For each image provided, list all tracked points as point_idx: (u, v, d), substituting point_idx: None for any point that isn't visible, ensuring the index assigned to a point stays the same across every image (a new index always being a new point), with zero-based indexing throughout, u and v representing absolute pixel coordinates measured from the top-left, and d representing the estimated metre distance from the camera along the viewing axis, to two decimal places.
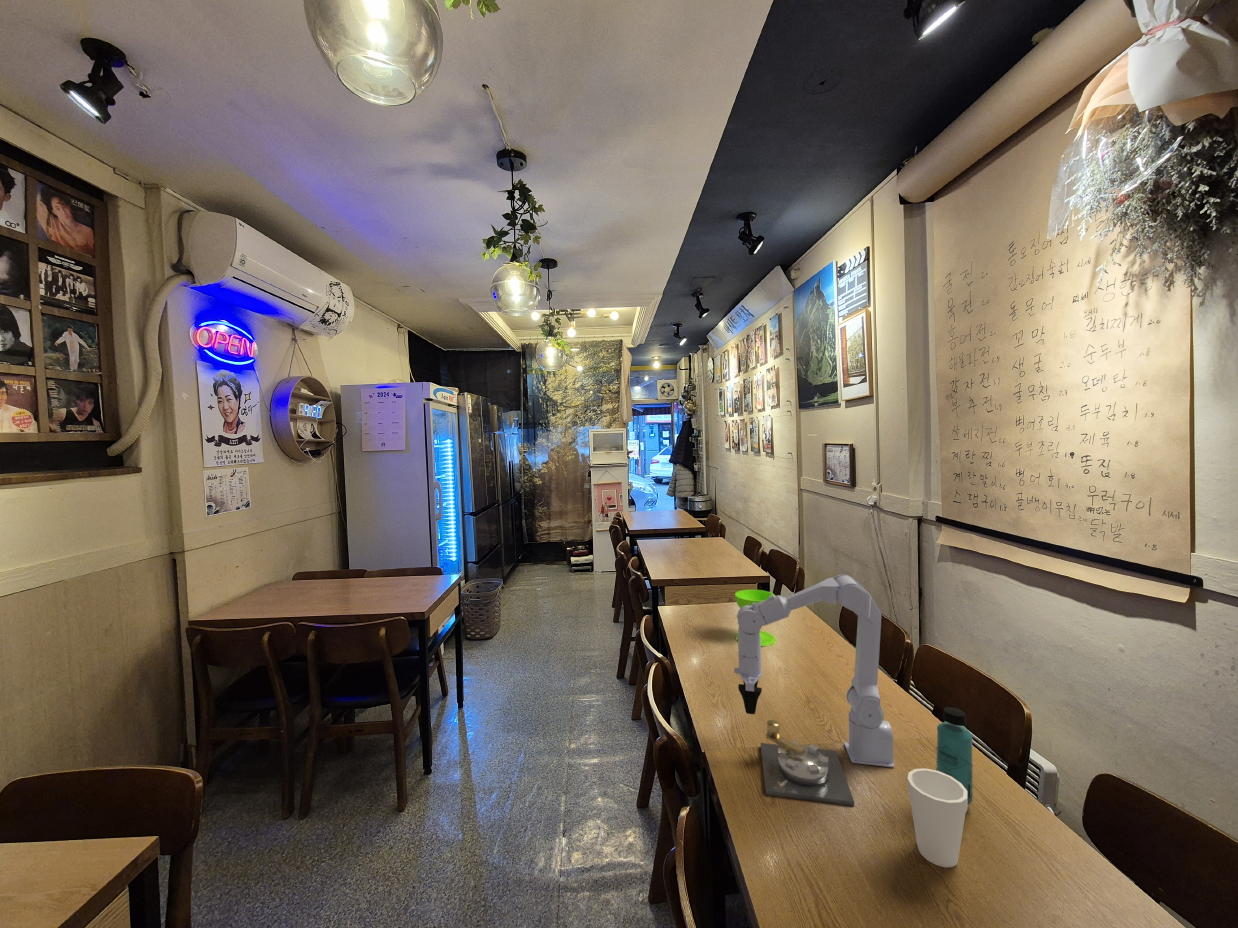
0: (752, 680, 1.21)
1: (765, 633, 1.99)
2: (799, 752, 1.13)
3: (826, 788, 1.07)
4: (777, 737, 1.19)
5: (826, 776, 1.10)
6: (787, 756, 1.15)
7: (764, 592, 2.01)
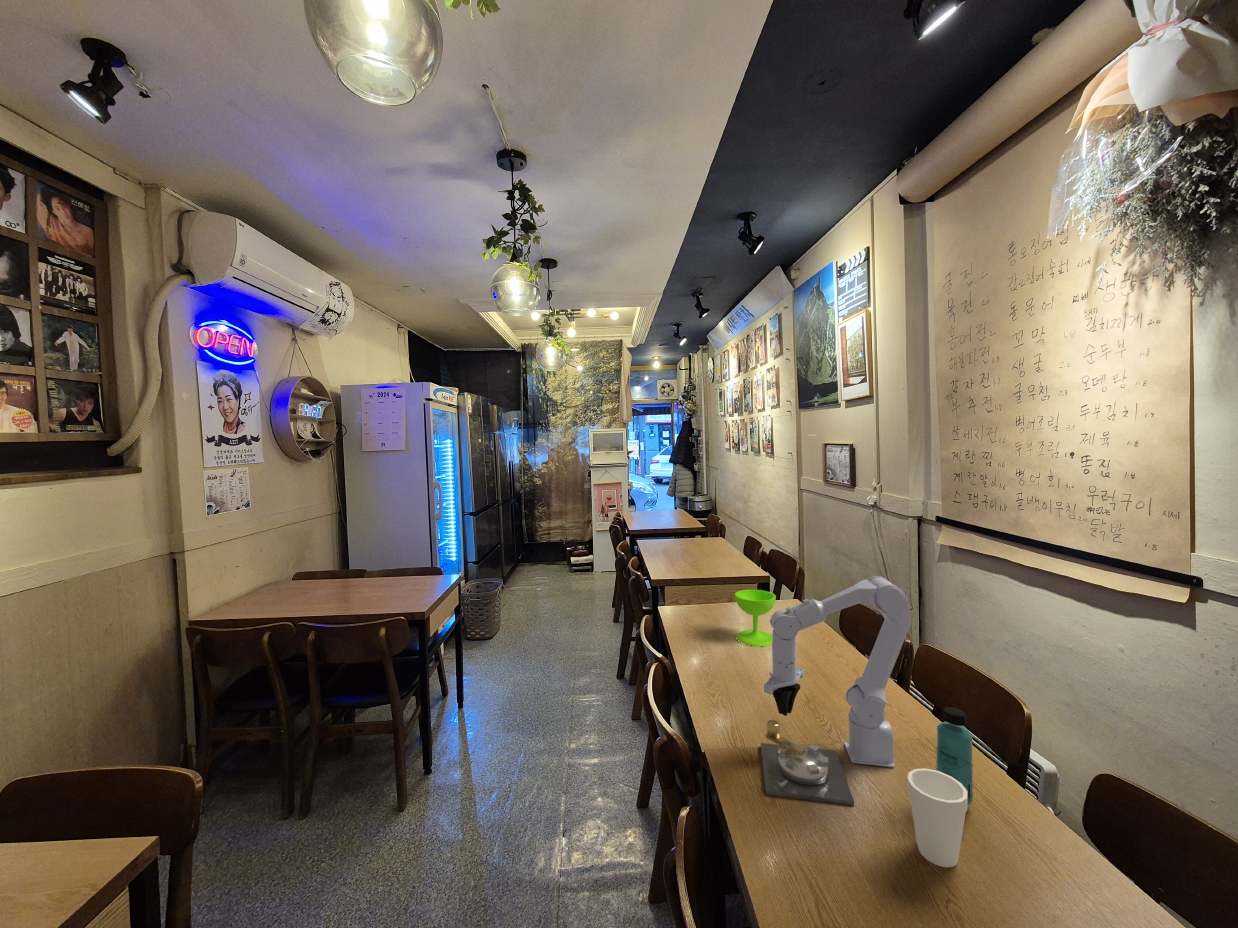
0: (775, 684, 1.19)
1: (765, 633, 1.99)
2: (799, 752, 1.13)
3: (826, 788, 1.07)
4: (777, 737, 1.19)
5: (826, 776, 1.10)
6: (787, 756, 1.15)
7: (764, 592, 2.01)
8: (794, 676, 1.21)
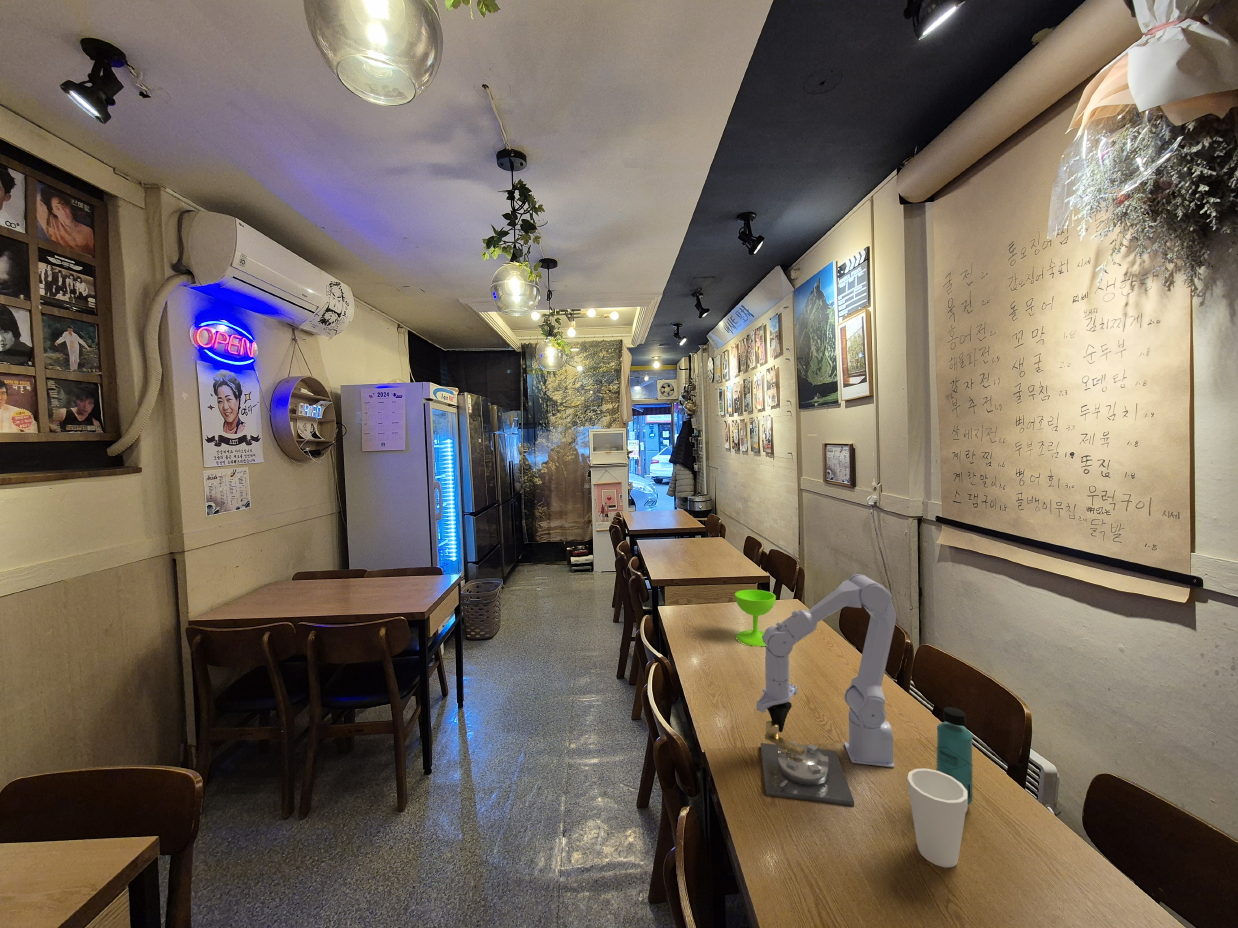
0: (768, 702, 1.18)
1: None
2: (799, 752, 1.13)
3: (826, 788, 1.07)
4: (776, 738, 1.18)
5: (826, 775, 1.10)
6: (787, 756, 1.14)
7: (764, 592, 2.01)
8: (787, 693, 1.19)
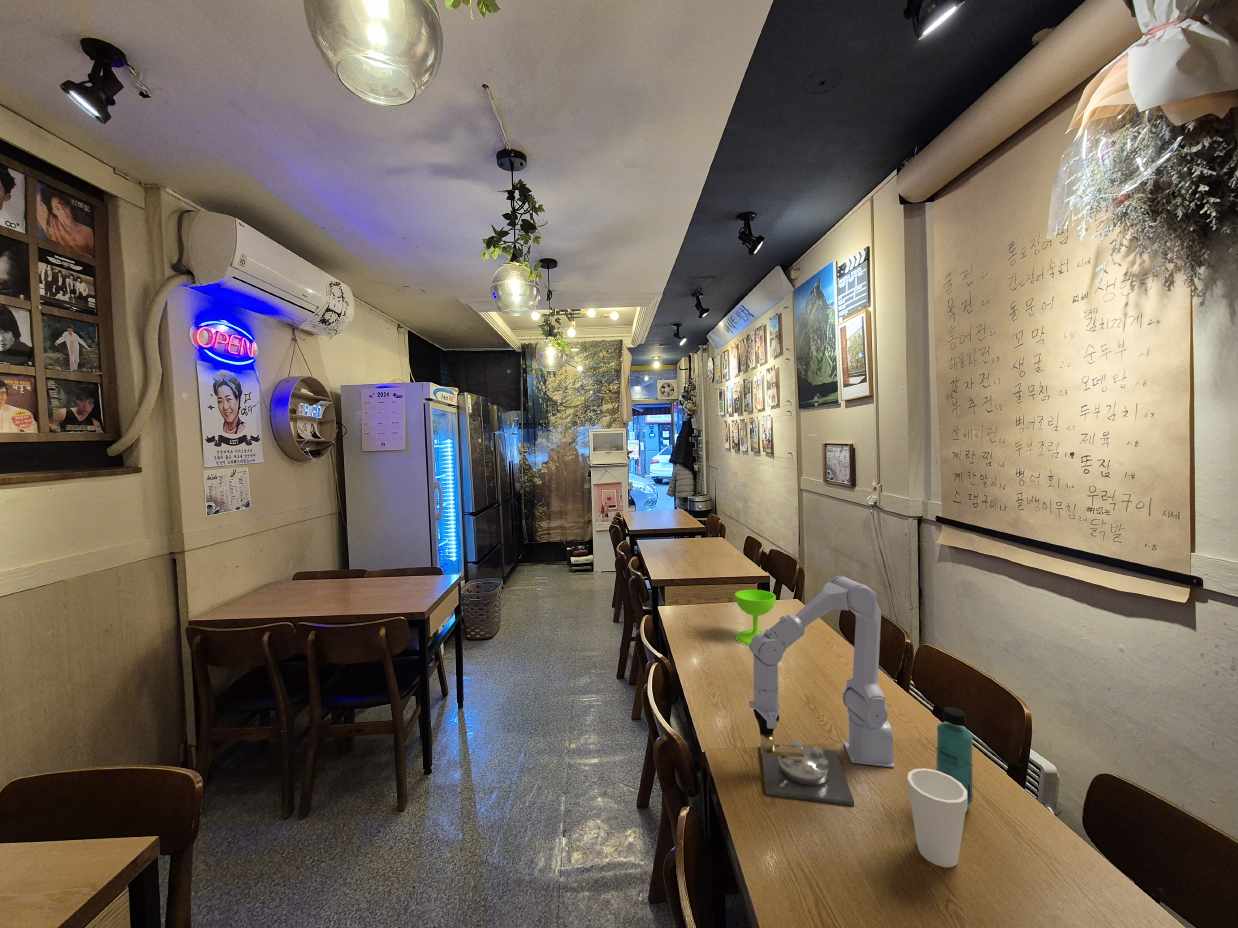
0: (772, 716, 1.12)
1: None
2: (802, 753, 1.13)
3: (826, 788, 1.07)
4: (774, 749, 1.14)
5: None
6: None
7: (764, 592, 2.01)
8: None
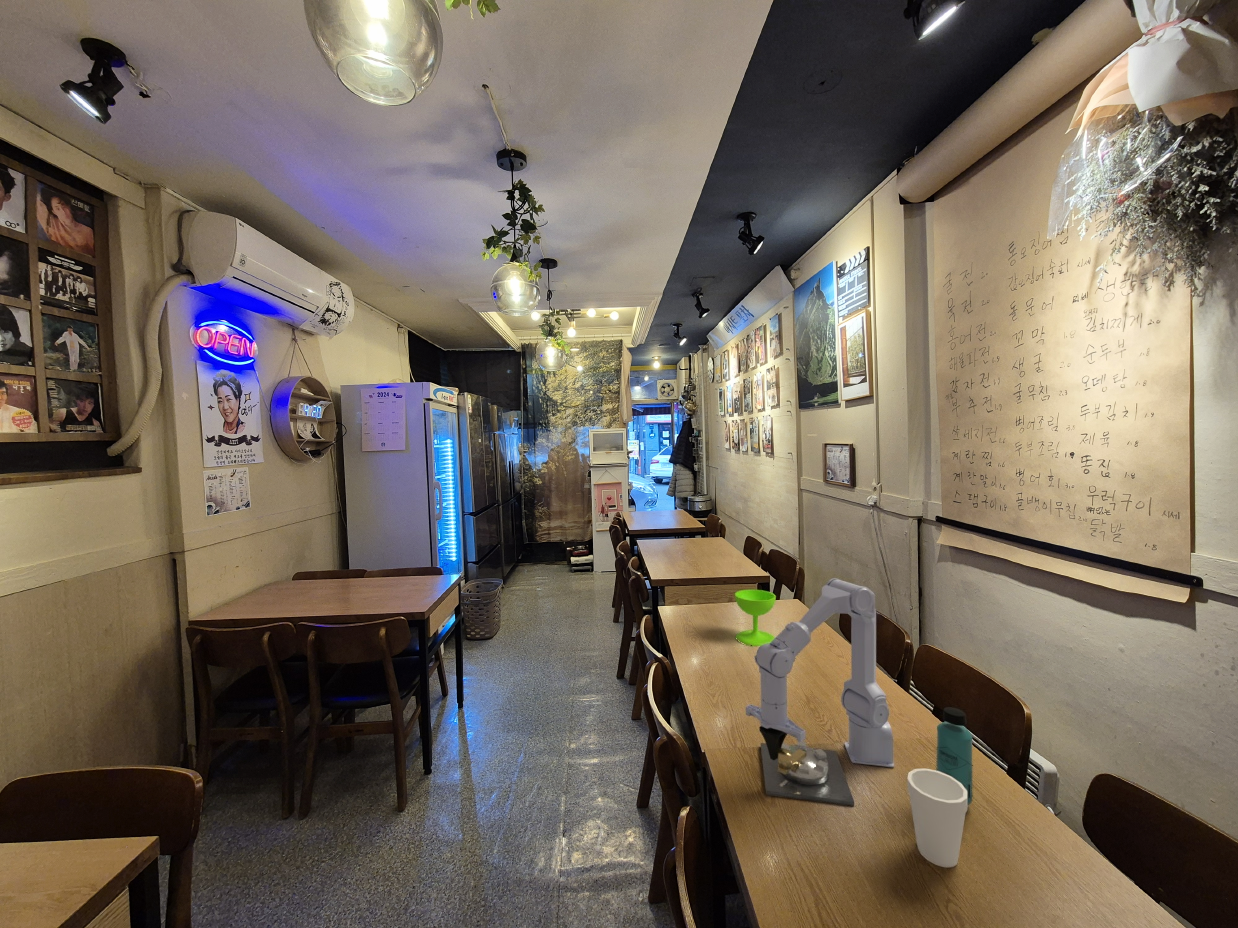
0: (794, 727, 1.07)
1: (765, 633, 1.99)
2: (805, 753, 1.13)
3: (826, 788, 1.07)
4: None
5: None
6: None
7: (764, 592, 2.01)
8: None
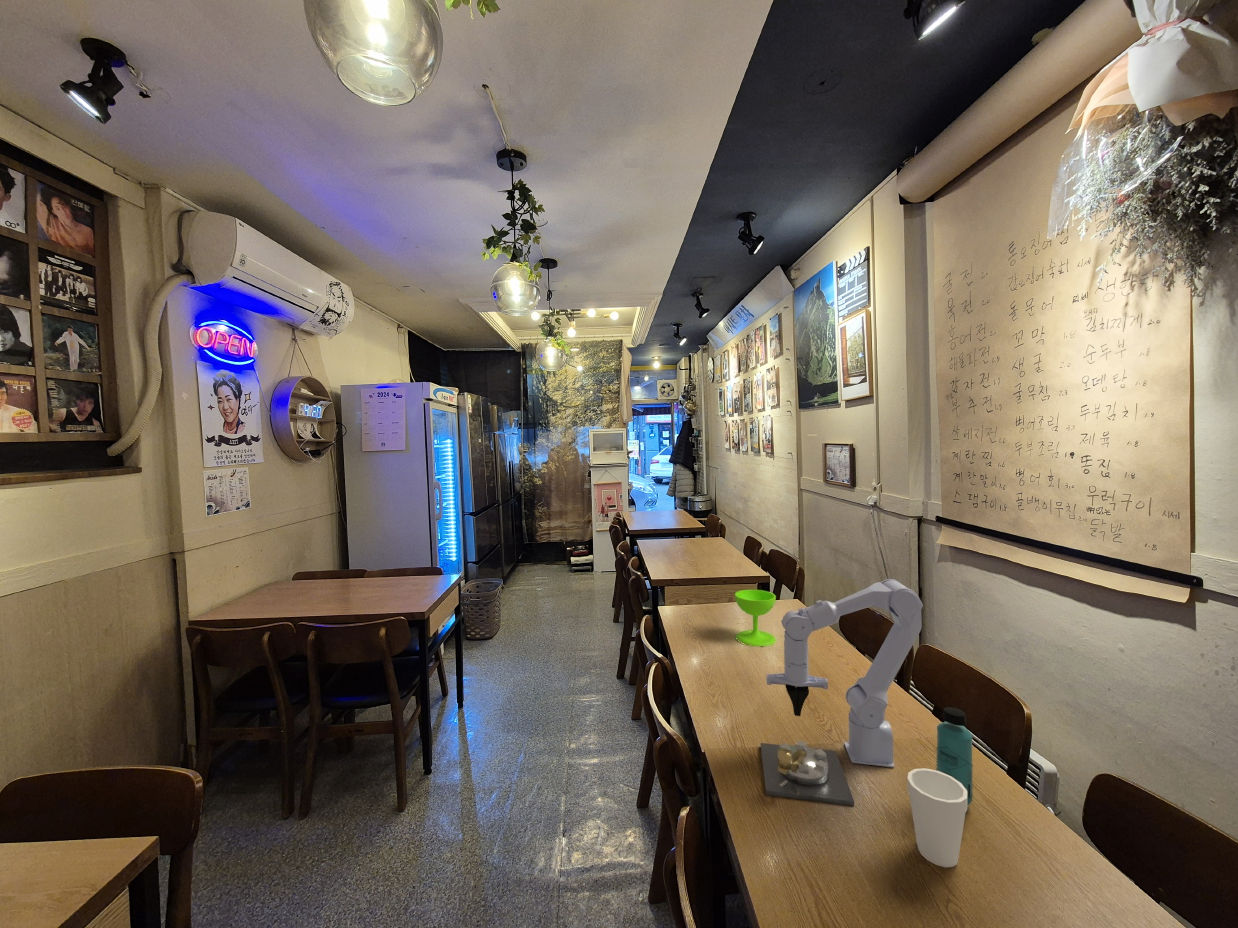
0: (776, 678, 1.23)
1: (765, 633, 1.99)
2: (805, 753, 1.13)
3: (826, 788, 1.07)
4: None
5: None
6: None
7: (764, 592, 2.01)
8: (798, 678, 1.19)
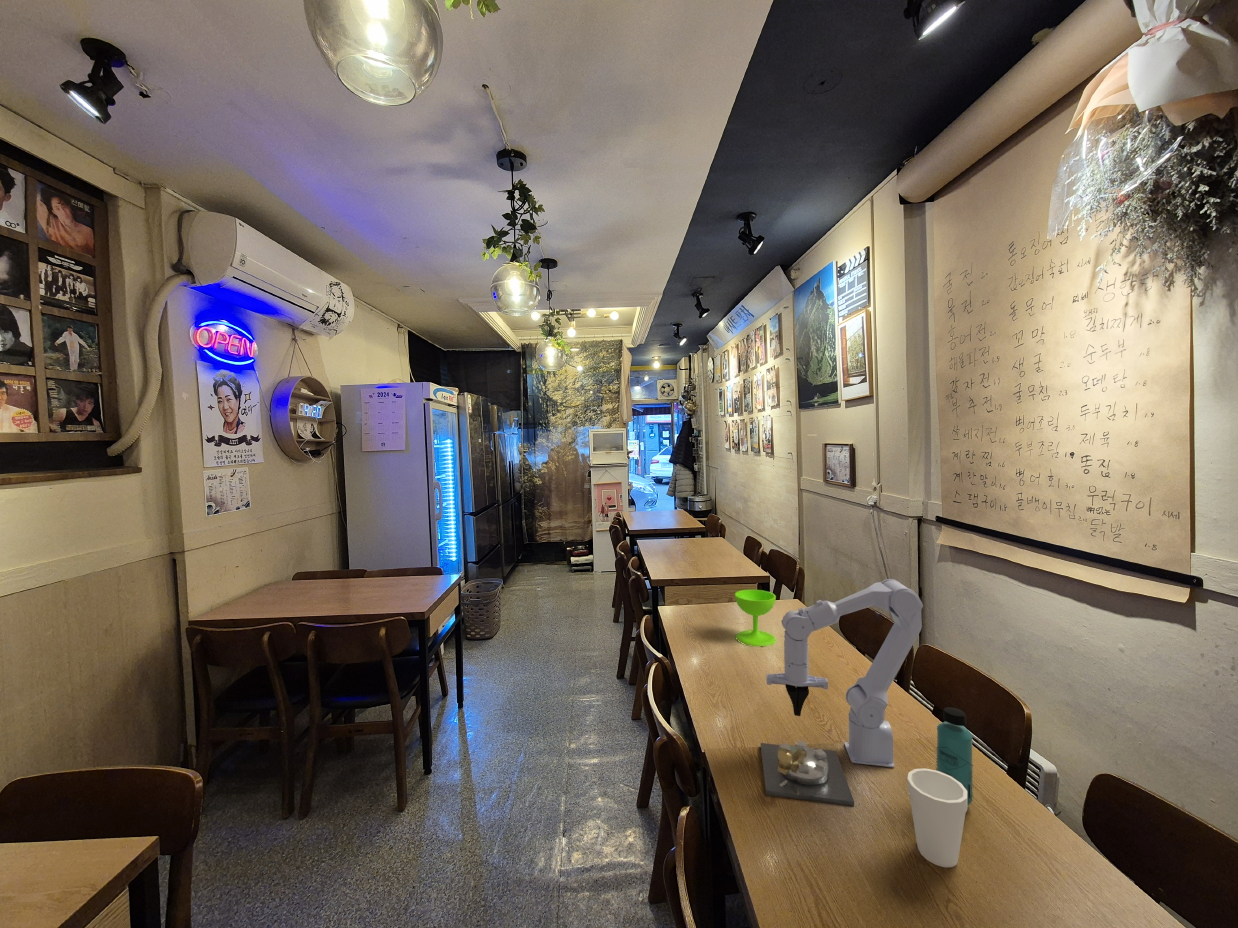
0: None
1: (765, 633, 1.99)
2: (805, 753, 1.13)
3: (826, 788, 1.07)
4: None
5: None
6: None
7: (764, 592, 2.01)
8: (798, 678, 1.19)
